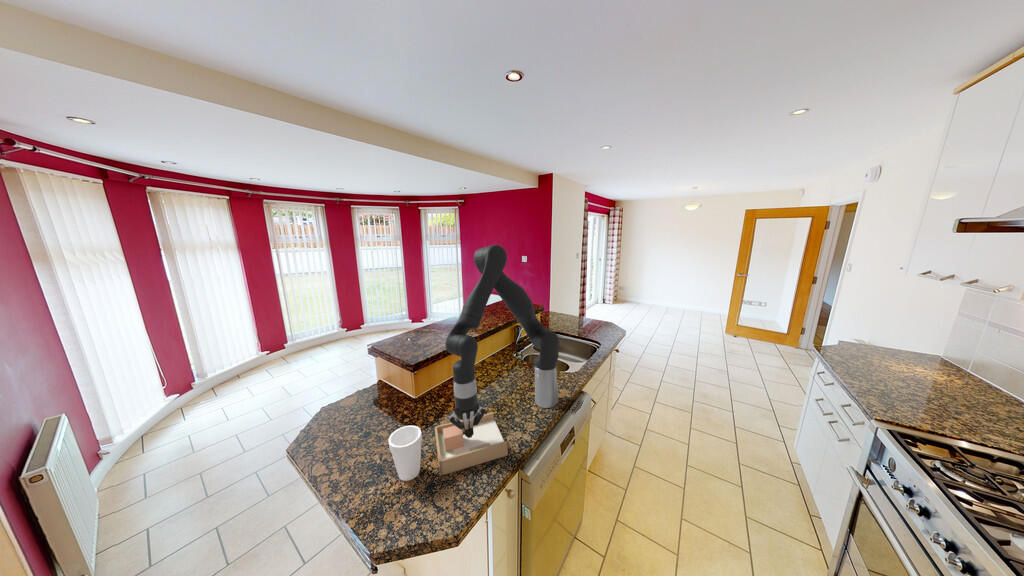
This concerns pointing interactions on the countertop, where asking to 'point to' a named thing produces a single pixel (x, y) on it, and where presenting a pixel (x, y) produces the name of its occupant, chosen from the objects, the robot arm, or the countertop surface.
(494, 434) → the box
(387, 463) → the countertop surface
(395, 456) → the foam cup
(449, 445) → the block
